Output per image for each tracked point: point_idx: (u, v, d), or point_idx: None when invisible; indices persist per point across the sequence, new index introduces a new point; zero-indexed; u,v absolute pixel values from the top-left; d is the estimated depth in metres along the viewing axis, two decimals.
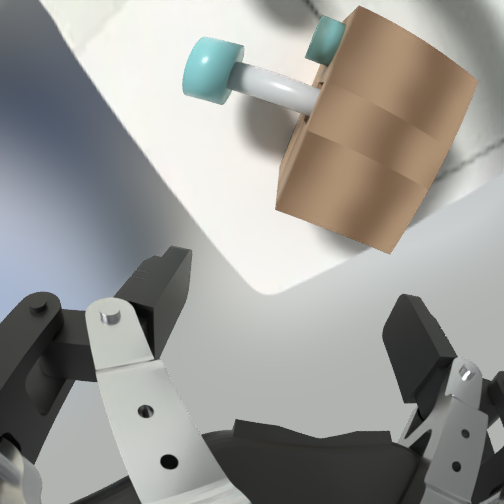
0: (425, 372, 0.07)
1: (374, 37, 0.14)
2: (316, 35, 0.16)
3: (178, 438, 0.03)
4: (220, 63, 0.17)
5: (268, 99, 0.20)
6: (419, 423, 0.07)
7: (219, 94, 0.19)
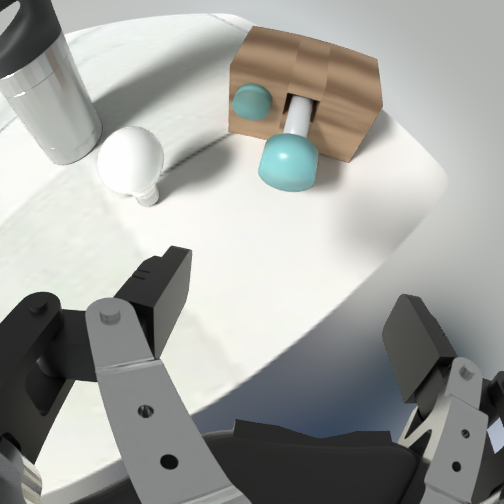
0: (425, 372, 0.07)
1: (251, 60, 0.26)
2: (254, 94, 0.27)
3: (178, 438, 0.03)
4: (288, 138, 0.24)
5: (307, 126, 0.27)
6: (419, 423, 0.07)
7: (312, 144, 0.25)
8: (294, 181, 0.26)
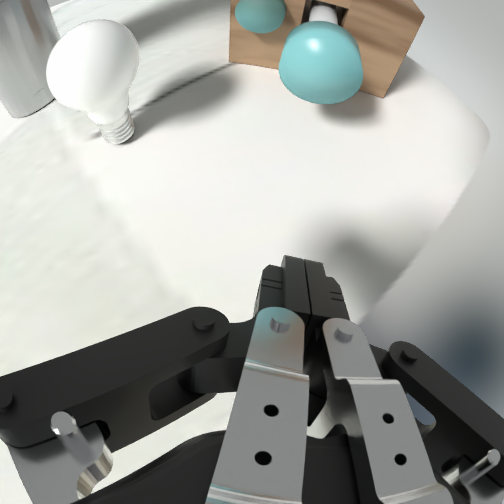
0: (304, 333, 0.08)
1: None
2: None
3: (285, 443, 0.04)
4: (319, 24, 0.14)
5: None
6: (312, 399, 0.07)
7: (352, 36, 0.14)
8: (333, 82, 0.15)
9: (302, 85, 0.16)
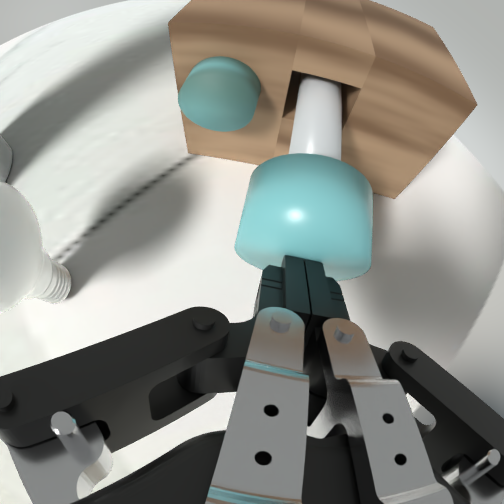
0: (304, 333, 0.08)
1: (214, 10, 0.11)
2: (219, 75, 0.12)
3: (285, 443, 0.04)
4: (307, 167, 0.09)
5: (340, 133, 0.13)
6: (312, 400, 0.07)
7: (365, 179, 0.10)
8: None
9: (274, 265, 0.12)
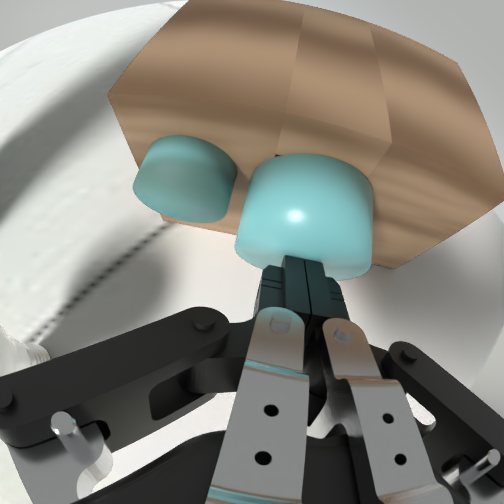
0: (304, 333, 0.08)
1: (170, 67, 0.09)
2: (177, 172, 0.10)
3: (284, 443, 0.04)
4: (307, 168, 0.09)
5: None
6: (312, 399, 0.07)
7: (365, 179, 0.10)
8: None
9: (274, 265, 0.12)
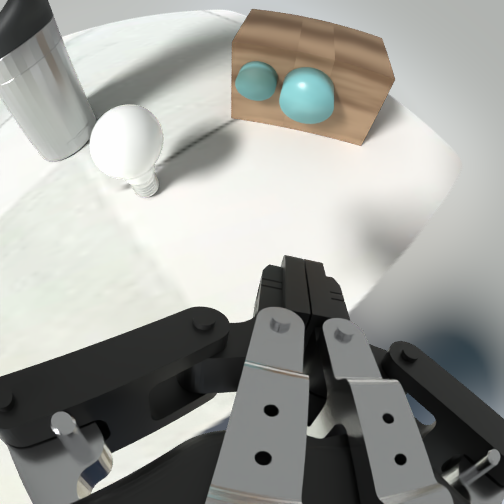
0: (304, 333, 0.08)
1: (254, 37, 0.23)
2: (259, 70, 0.24)
3: (284, 443, 0.04)
4: (305, 70, 0.23)
5: None
6: (312, 399, 0.07)
7: (328, 76, 0.24)
8: (314, 109, 0.25)
9: (294, 112, 0.26)
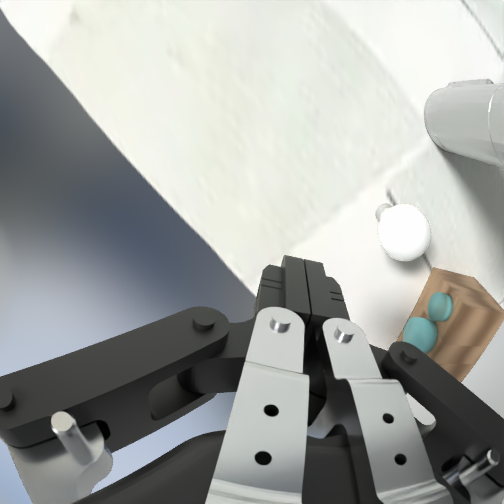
0: (304, 333, 0.08)
1: (467, 319, 0.30)
2: (441, 316, 0.32)
3: (284, 443, 0.04)
4: (432, 343, 0.34)
5: None
6: (312, 400, 0.07)
7: None
8: (408, 337, 0.37)
9: (411, 324, 0.37)
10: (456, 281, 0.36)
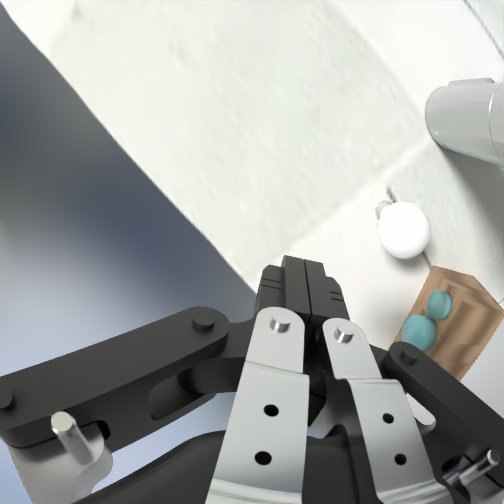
0: (304, 333, 0.08)
1: (466, 318, 0.30)
2: (440, 314, 0.33)
3: (285, 443, 0.04)
4: (431, 341, 0.34)
5: None
6: (312, 399, 0.07)
7: None
8: (407, 335, 0.37)
9: (410, 321, 0.37)
10: (456, 280, 0.36)
